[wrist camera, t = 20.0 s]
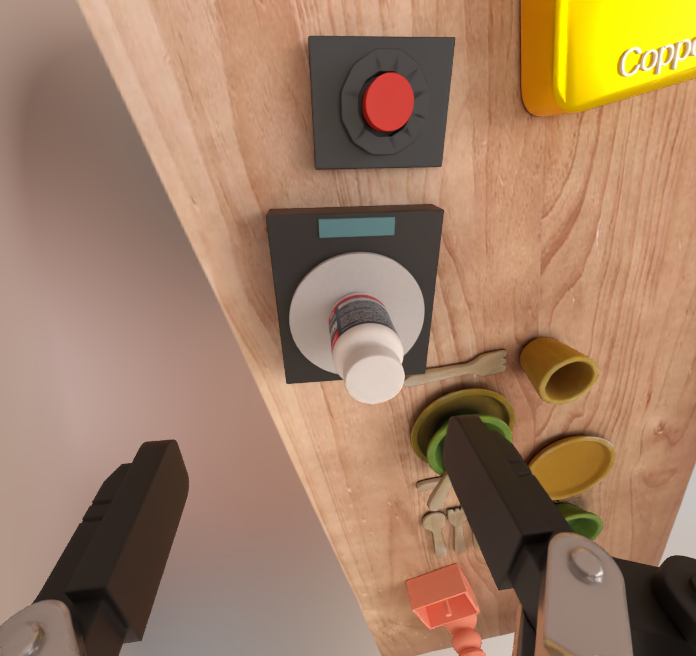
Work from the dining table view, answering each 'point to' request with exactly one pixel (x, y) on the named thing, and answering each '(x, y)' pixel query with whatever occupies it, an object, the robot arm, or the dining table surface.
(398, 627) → the dining table surface
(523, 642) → the robot arm
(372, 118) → the button
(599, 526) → the tableware set
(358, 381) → the pill bottle
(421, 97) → the block
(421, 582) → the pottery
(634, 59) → the element tile
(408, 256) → the scale
